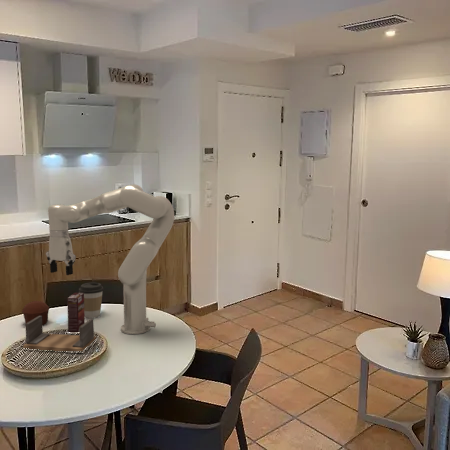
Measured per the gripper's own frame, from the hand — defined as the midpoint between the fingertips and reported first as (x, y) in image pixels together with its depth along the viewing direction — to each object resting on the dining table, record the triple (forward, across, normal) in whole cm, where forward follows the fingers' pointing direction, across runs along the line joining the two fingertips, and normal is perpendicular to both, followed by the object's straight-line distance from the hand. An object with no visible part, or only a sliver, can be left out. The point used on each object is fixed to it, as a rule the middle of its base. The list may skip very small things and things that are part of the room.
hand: (61, 273), depth 202 cm
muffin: (+24, +16, +2) cm, 29 cm away
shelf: (+25, -14, +14) cm, 32 cm away
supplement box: (+25, -7, 0) cm, 26 cm away
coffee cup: (+25, +3, -18) cm, 31 cm away
